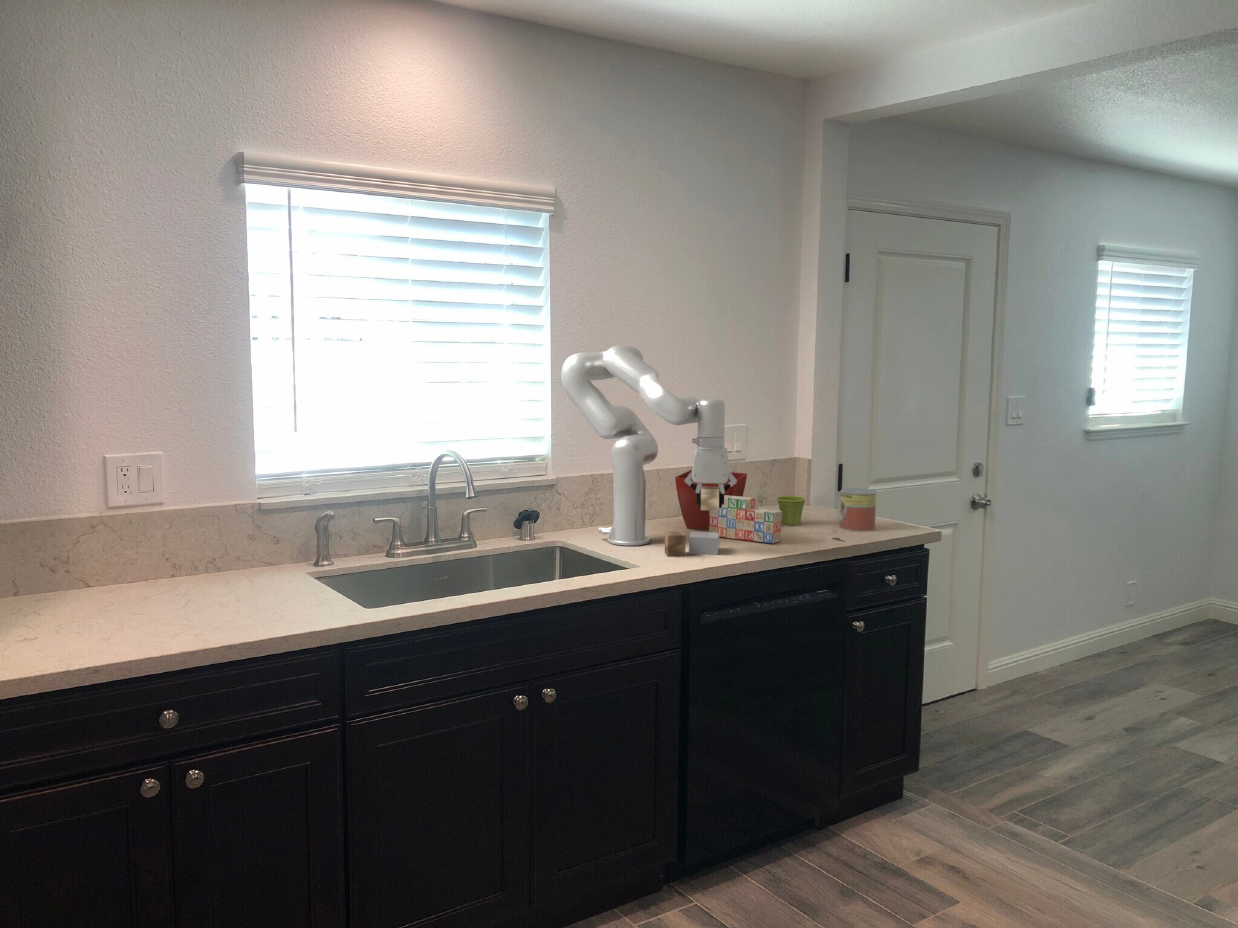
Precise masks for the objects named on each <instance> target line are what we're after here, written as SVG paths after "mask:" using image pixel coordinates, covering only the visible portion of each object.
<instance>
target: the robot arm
mask: <svg viewBox="0 0 1238 928" xmlns="http://www.w3.org/2000/svg"><path fill="white" fill-rule="evenodd" d="M659 376H660V375H659V372H658V371H657V369H656V368H654V367H653V366H651V365H650V364H649V363H647V362H646V361H644V355H643V354H642V352H641V350H639V349H638V348H637V347H635V346H632V345H613V346H611V347H610V348H608V349H607V350H605V351H603V350H602V351H599V352H595V351H594V352H590V351H589V352H577V353H573V354H571V355H569V356H568V357H567V358H566V359H565V361H564V362H563V364H562V367H561V373H560V378H561V379H560V380H561V385H562V388H563V389H564V392H565V393H566V395H567V396H568V397H569V399H570V400H571V402H572V403H574V405H575V406H576V408H578V410H579V411H580V413H581V414H582V415H583V417H584V418H585V419H586V422H588V423H589V425H590V426H591V427H592V429H593V430H594V431H595V433H596V434H597V436H599V437H600V438H602V439H603V440H604V439H605V440H613V439H617V440H615V442H614V443H613V444H612V447H611V450H610V460H611V461H610V462H611V467H612V478H613V487H612V488H613V489H612V490H613V492H612V493H613V497H612V498H613V504H612V505H613V513H612V515H613V516H612V517H613V518H612V519H613V520H612V523H613V524H612V526H609V527H606V526H599V527H598V534H601V535H608V537H607V542H608V543H609V544H612V545H617V546H628V547H630V546H631V547H634V546H636V547H637V546H643V545H647V544H649V543H650V542H651V537H650V536H648V535H646V497H647V495H646V494H647V493H646V491H647V490H646V488H647V485H646V484H647V483H646V474H645V471H644V470H645V469H644V466H645V465H648V464H651V463H653V462H654V461H655V460H656V458H657V457H658V454H659V445H658V443H657V442H658V441H657V440H656V438H655V436H654V435H653V434H652V433H651V432H650V430H649V429H648V428H647V427H646V425H645V424H644V423H643V422H642V420H641V419H640V417H638V414H636V412H635V411H633V410H632V409H631V408H629V407H626V406H623V405H615V406H614V405H613V404H612V403H611V402H610V401H609V400H608V398H607V397H606V396H605V395H604V393H603V392H602V391H601V389H599V388H598V387H596V386H595V385H594V384H593V383H592V381H601V380H607V379H613V378H617V379H618V380H620V381H621V382H622V383H623V384H625V385H626V386H627V387H629V388H630V389H632V391H635V393H637V394H638V395H639V396H640V398H641V400H642V401H643V402H644V404H645V405H646V406H647V407H648V409H650V410H651V411H652V412H653V413H655V414H656V415H658V416H659V417H660V418H661V419H663V420H664V421H666V422H667V423H669V424H672V425H674V426H682V425H683V426H684V425H689V424H695V423H697V437H695V438H692V441H691V443H692V444H695V445H697V446H696V447H694V448H693V449H694V450H693V457H692V466H691V467H692V468H691V470H692V472H691V473H690V474H689V475H688V476H687V478H686V479H685V480H684V481H685V483H687V484H688V485H689V486H690V487H691V488H692V489H693V490H694V491H695V492H696V493H697V504H699V507H701V487H702V484H719V488H720V493H719V508H721V507H722V505H724V493H725V492H726V491H727V490H728V489H729V488H730V487H732V486H733V485H734V484H736V482H737V480H736V479H735V478H734V476H733V475H732V474H731V473H730V468H729V465H730V464H729V462H730V461H729V453H728V448H727V447H725V423H726V421H725V419H726V418H725V417H726V415H725V412H726V410H725V408H726V406H725V405H726V404H725V401H724V400H723V399H721V398H699V397H693V396H686V397H679V396H676V395H675V394H673V393H672V392H671V391H670V390H668V389H667V388H665V387H664V385H662V383H661V382H660V380H659ZM691 478H692V480H693V482H695V483H698V484H697V486H696V484H695V483H693V482H692V481H691ZM728 478H729V479H730V480H731V481H730V482H729V483H728V484H727V485H726V486H725V487H724V483H726V482H727V481H728Z"/></svg>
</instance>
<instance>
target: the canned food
mask: <svg viewBox="0 0 1238 928" xmlns="http://www.w3.org/2000/svg"><path fill="white" fill-rule="evenodd" d="M839 492H840V497H839V519H838V521H839V523H838V524H839V525H838V528H839V529H840V530H843V531H849V532H859V533H860V532H865V533H866V532H872V531H875V530H876V511H877V509H876V508H877V507H876V506H877V491H876V490H872V489H867V488H844V489H841V490H840V491H839Z"/></svg>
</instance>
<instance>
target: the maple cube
mask: <svg viewBox="0 0 1238 928" xmlns="http://www.w3.org/2000/svg"><path fill="white" fill-rule="evenodd" d="M719 493H720V488H719V487H702V488H701V510H710V511H719Z"/></svg>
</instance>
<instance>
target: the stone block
mask: <svg viewBox="0 0 1238 928" xmlns="http://www.w3.org/2000/svg"><path fill="white" fill-rule="evenodd" d="M688 539H689V541H688V555H689V554H690V555H707V556H710V555H711V556H718V555H719V551H720V539H721V537H720V533H718V532H709V531H691V532H690V534H689V537H688Z"/></svg>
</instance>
